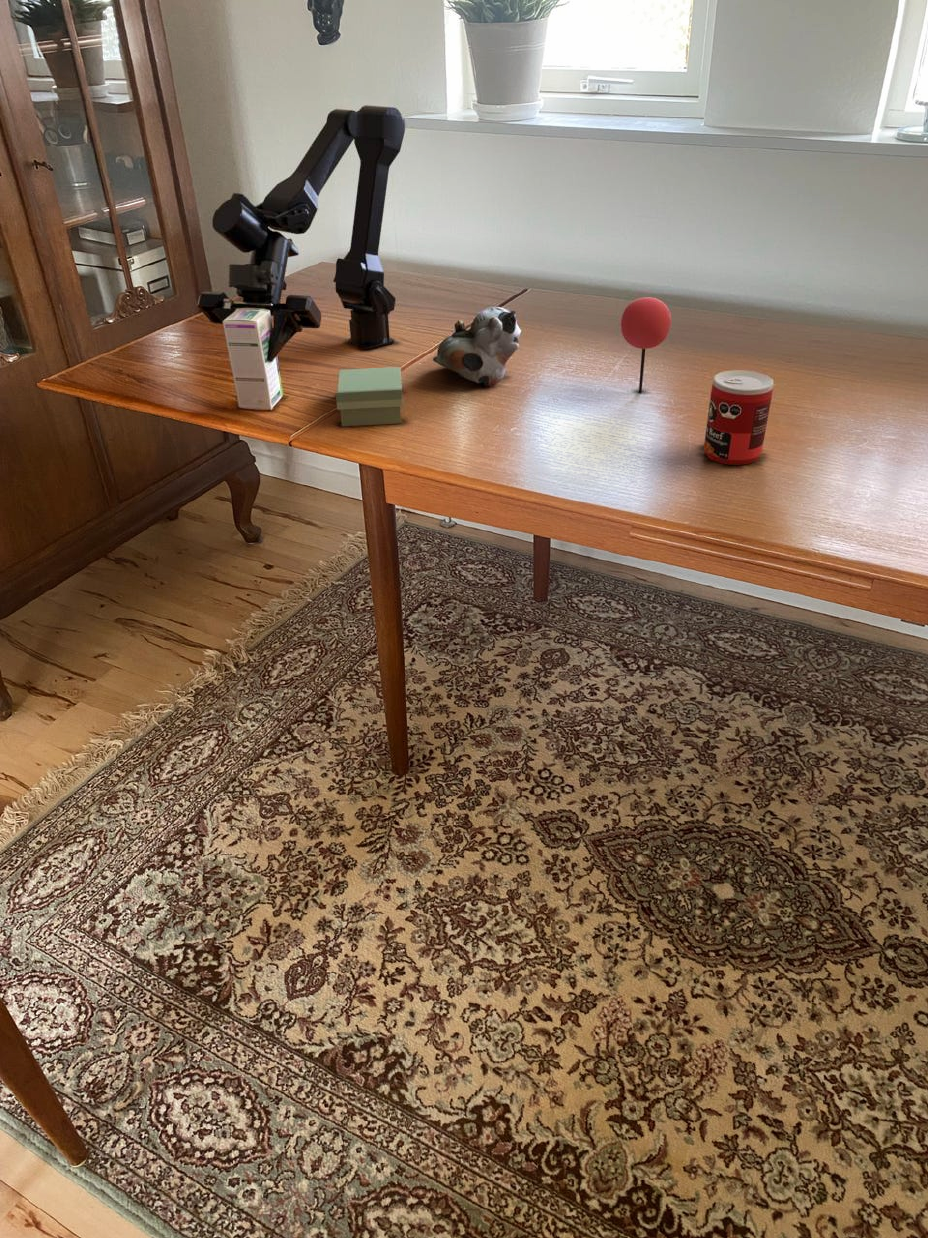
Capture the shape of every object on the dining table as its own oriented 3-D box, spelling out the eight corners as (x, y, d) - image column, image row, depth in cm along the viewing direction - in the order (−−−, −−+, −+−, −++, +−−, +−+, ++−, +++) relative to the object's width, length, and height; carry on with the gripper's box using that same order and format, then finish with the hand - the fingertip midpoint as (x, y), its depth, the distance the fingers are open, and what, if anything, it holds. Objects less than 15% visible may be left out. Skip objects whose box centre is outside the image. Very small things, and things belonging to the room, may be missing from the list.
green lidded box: (401, 389, 154) (399, 357, 150) (404, 423, 142) (402, 389, 139) (341, 392, 153) (338, 360, 150) (339, 427, 142) (335, 392, 138)
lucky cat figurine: (442, 359, 165) (477, 285, 159) (501, 391, 164) (538, 318, 159) (421, 364, 151) (458, 282, 146) (486, 399, 150) (525, 318, 145)
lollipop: (666, 385, 153) (676, 293, 144) (659, 402, 147) (669, 307, 138) (620, 380, 155) (628, 289, 146) (611, 397, 149) (618, 303, 140)
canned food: (696, 444, 134) (706, 370, 128) (750, 441, 134) (762, 367, 128) (712, 467, 128) (723, 391, 121) (768, 464, 128) (782, 388, 122)
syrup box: (272, 410, 147) (258, 320, 139) (237, 408, 148) (221, 318, 140) (284, 396, 152) (271, 308, 143) (250, 394, 153) (235, 306, 144)
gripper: (190, 237, 141) (172, 332, 138) (306, 241, 138) (289, 338, 135) (221, 276, 152) (204, 365, 149) (328, 280, 148) (313, 371, 146)
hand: (251, 359), depth 145 cm, fingers closed on syrup box, 6 cm apart
